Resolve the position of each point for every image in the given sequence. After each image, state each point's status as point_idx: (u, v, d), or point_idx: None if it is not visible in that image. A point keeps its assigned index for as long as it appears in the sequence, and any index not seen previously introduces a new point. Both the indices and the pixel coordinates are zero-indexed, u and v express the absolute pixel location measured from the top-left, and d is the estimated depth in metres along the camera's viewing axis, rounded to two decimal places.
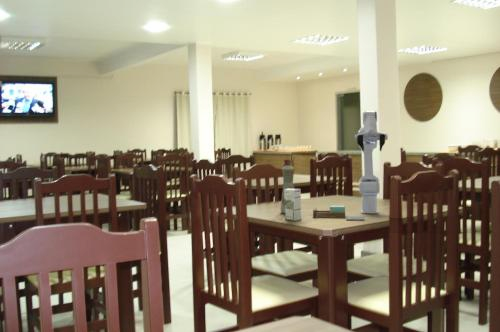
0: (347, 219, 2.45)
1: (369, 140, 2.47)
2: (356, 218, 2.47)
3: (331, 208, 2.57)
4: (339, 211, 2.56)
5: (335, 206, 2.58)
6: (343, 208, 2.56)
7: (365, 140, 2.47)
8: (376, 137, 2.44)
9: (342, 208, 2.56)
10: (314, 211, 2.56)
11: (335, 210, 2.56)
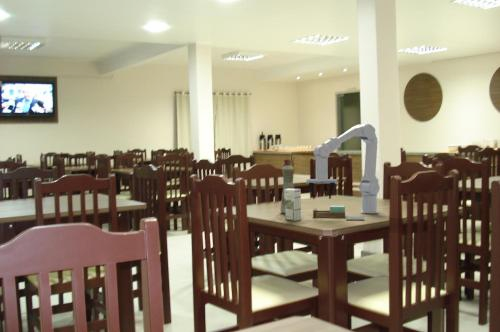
0: (347, 219, 2.45)
1: None
2: (356, 218, 2.47)
3: (331, 208, 2.57)
4: (339, 211, 2.56)
5: (335, 206, 2.58)
6: (343, 208, 2.56)
7: None
8: (326, 182, 2.58)
9: (342, 208, 2.56)
10: (314, 211, 2.56)
11: (335, 210, 2.56)
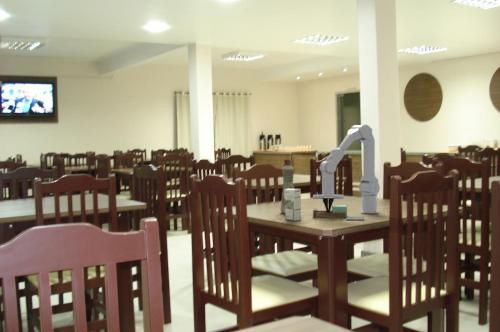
0: (347, 219, 2.45)
1: None
2: (356, 218, 2.47)
3: (333, 208, 2.57)
4: (341, 211, 2.56)
5: (337, 206, 2.57)
6: (345, 208, 2.56)
7: None
8: None
9: (344, 207, 2.56)
10: (314, 211, 2.56)
11: (337, 209, 2.56)
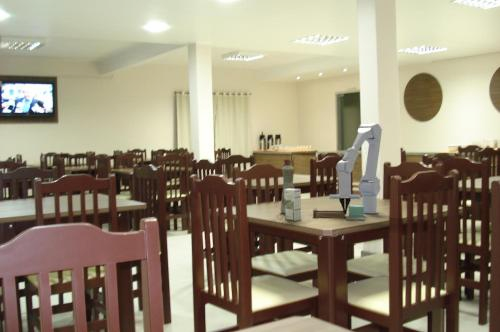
0: (347, 219, 2.45)
1: None
2: (356, 218, 2.47)
3: (350, 208, 2.55)
4: (358, 211, 2.55)
5: (354, 206, 2.56)
6: (362, 208, 2.54)
7: None
8: (349, 198, 2.57)
9: (361, 207, 2.54)
10: (314, 211, 2.56)
11: (354, 209, 2.55)
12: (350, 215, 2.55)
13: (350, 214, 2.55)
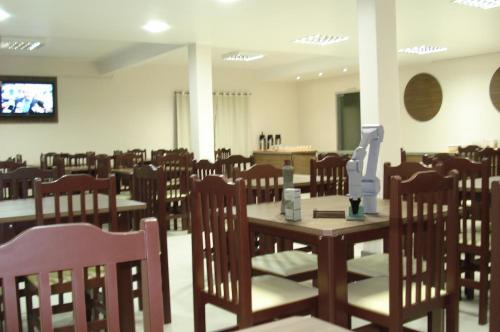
0: (347, 219, 2.45)
1: None
2: (356, 218, 2.47)
3: (350, 208, 2.55)
4: (358, 211, 2.55)
5: None
6: (362, 208, 2.54)
7: None
8: None
9: (361, 207, 2.54)
10: (314, 211, 2.56)
11: None
12: (350, 215, 2.55)
13: (350, 214, 2.55)
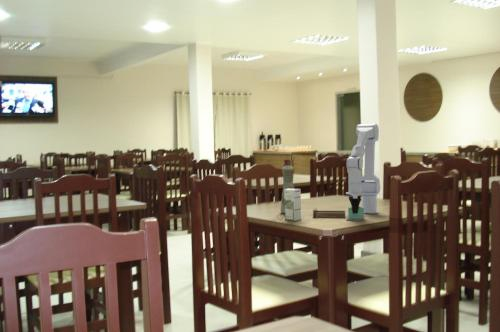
0: (347, 219, 2.45)
1: None
2: None
3: (349, 209, 2.47)
4: (358, 212, 2.46)
5: None
6: (362, 209, 2.46)
7: None
8: None
9: (361, 209, 2.46)
10: (314, 211, 2.56)
11: None
12: (350, 216, 2.47)
13: (350, 215, 2.47)
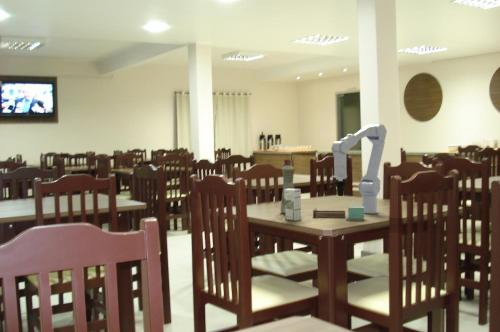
0: (347, 219, 2.45)
1: None
2: None
3: (349, 209, 2.47)
4: (358, 212, 2.46)
5: (354, 207, 2.48)
6: (362, 209, 2.46)
7: None
8: None
9: (361, 209, 2.46)
10: (314, 211, 2.56)
11: (354, 211, 2.47)
12: (350, 216, 2.47)
13: (350, 215, 2.47)
